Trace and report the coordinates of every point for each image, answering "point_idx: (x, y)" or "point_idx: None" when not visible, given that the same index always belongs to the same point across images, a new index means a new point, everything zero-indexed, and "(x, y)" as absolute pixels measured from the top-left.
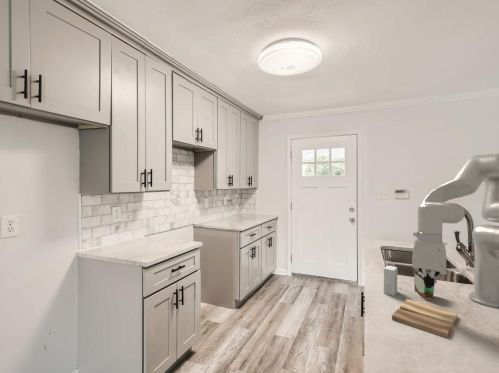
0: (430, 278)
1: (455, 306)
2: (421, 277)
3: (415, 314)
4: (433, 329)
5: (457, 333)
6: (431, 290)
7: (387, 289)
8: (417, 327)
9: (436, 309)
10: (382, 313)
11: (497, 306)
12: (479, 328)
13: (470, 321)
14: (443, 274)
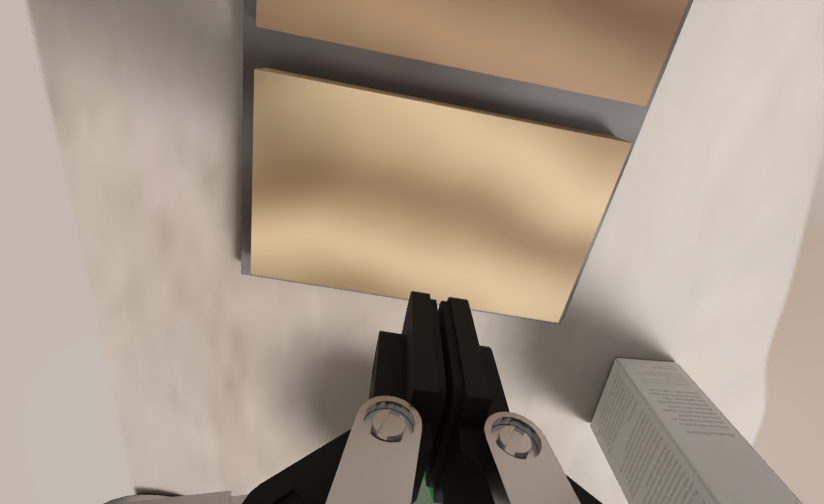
0: (417, 383)
1: (290, 421)
2: None
3: (519, 58)
4: None
5: (240, 31)
6: None
7: (685, 396)
8: None
9: (371, 254)
10: (739, 55)
11: (117, 501)
12: (144, 204)
13: (200, 274)
14: (168, 500)
